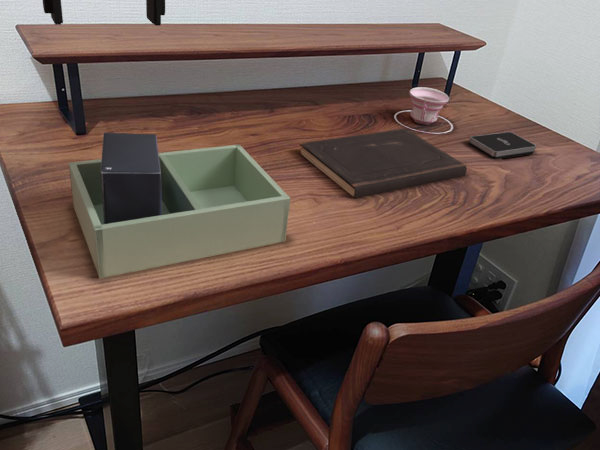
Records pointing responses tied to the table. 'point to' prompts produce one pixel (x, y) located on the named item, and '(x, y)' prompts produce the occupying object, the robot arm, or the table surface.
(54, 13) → the robot arm
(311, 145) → the hardcover book
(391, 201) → the table surface
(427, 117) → the teacup
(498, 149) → the external hard drive
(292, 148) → the table surface
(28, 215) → the table surface
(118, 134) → the small box
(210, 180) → the caddy
